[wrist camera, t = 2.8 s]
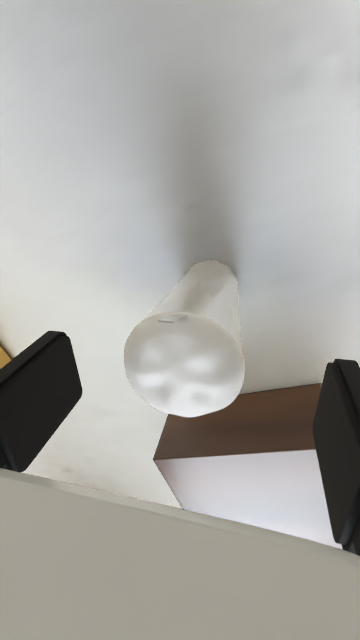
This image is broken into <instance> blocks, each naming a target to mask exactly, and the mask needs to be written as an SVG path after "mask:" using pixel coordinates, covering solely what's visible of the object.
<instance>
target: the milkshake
mask: <svg viewBox="0 0 360 640" xmlns="http://www.w3.org/2000/svg"><path fill="white" fill-rule="evenodd" d="M124 361H125V370H126V374H127V377H128V380H129V382H130V384H131V386H132V387H133V389H134V390H135V392H136V393H137V394H138V395H139V396H140V397H141V398H142V399H143V400H144V401H146V402H147V403H148V404H150V405H151V406H153V407H154V408H155V409H157V410H159V411H161V412H163V413H167V414H173V415H178V416H182V417H197V416H201V415H205V414H208V413H211V412H215V411H218V410H221V409H223V408H225V407H227V406H228V405H230V404H231V403H232V402H233V401H234V400H235V399H236V397H237V396H238V394H239V393H240V390H241V388H242V385H243V381H244V375H245V363H244V357H243V347H242V338H241V329H240V318H239V298H238V280H237V279H236V277H235V275H234V274H233V272H232V271H231V269H230V268H229V266H228V265H225V264H222V263H220V262H217V261H215V260H212V259H211V260H207V261H203V262H199V263H195V264H194V265H193V266H192V267H191V269H190V270H189V271H188V272H187V273H186V274H185V276H184V277H183V278H182V279H181V280H180V282H179V283H178V284H177V285H176V286H175V287H174V289H173V290H172V291H171V292H170V293H169V294H168V295H167V296H166V297H165V298H164V299H163V300H162V301H161V302H160V303H159V304H158V305H157V306H156V307H155V308H154V309H153V310H152V311H151V312H150V313H149V314H148V315H147V316H146V317H145V318H144V319H143V320H142V321H141V322H140V323H139V324H138V325H137V326H136V327H135V329H134V330H133V331H132V332H131V334H130V336H129V337H128V339H127V342H126V344H125V350H124Z"/></svg>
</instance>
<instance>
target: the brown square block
mask: <svg viewBox="0 0 360 640" xmlns="http://www.w3.org/2000/svg"><path fill="white" fill-rule="evenodd" d="M320 391H321V385H320V384H314V385H307V386H299V387H292V388H285V389H278V390H271V391H264V392H257V393H250V394H243V395H238V396H237V397H236V399H235V400H234V401H233V402H232V403H231V404H230V405H228V406H227V407H225V408H223V409H221V410H218V411H215V412H211V413H208V414H205V415H201V416H197V417H182V416H178V415H173V414H168V417H167V420H166V423H165V426H164V428H163V431H162V434H161V437H160V440H159V443H158V446H157V449H156V452H155V455H154V458H153V460H154V462H155V464H156V465H157V467H158V469H159V470H160V472H161V474H162V475H163V477H164V479H165V480H166V482H167V483H168V485H169V487H170V488H171V490H172V492H173V493H174V495H175V497H176V498H177V500H178V501H179V503H180V505H181V506H182V508H183V509H184V510H189V511H193V512H197V513H202V514H206V515H210V516H215V517H219V518H223V519H227V520H232V521H236V522H240V523H245V524H249V525H253V526H257V527H261V528H265V529H269V530H273V531H277V532H281V533H285V534H289V535H293V536H297V537H301V538H305V539H309V540H312V541H315V542H319V543H322V544H325V545H329V546H332V547H335V548H339V549H342V545H341V544H338V543H336V542H335V541H334V538H333V534H332V529H331V524H330V519H329V513H328V508H327V503H326V498H325V493H324V488H323V483H322V478H321V473H320V468H319V463H318V458H317V453H316V447H315V442H314V437H313V421H314V416H315V412H316V408H317V404H318V400H319V396H320ZM342 550H343V549H342Z"/></svg>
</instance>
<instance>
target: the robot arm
mask: <svg viewBox="0 0 360 640" xmlns="http://www.w3.org/2000/svg"><path fill="white" fill-rule="evenodd" d="M81 396H82V386H81V382H80V378H79V374H78V370H77V366H76V362H75V357H74V353H73V349H72V345H71V341H70V338H69V337H68V336H67V335H66V334H65V333H64V332H58V331H48V332H46V333H45V334H44V335H43V336H41V337H40V338H39V339H38V340H36V341H35V342H34V343H33V344H31V345H30V346H29V347H27V348H26V349H25V350H24V351H22V352H21V353H20V354H19V355H17V356H16V357H15V358H14V359H12V360H11V361H10V362H9V363H7V364H6V365H5V366H4V367H2V368H1V369H0V640H360V367H359V365H358V363H357V362H356V361H354V360H344V359H335V360H334V362H333V363H328V364H327V367H326V371H325V375H324V379H323V383H322V387H321V391H320V396H319V400H318V404H317V408H316V412H315V416H314V421H313V437H314V442H315V447H316V453H317V458H318V463H319V468H320V473H321V478H322V483H323V488H324V493H325V498H326V503H327V508H328V513H329V519H330V524H331V529H332V534H333V538H334V541H335V542H336V543H338V544H341V545H342V549H343V550H342V549H339V548H335V547H332V546H329V545H325V544H322V543H319V542H315V541H312V540H309V539H305V538H301V537H297V536H293V535H289V534H285V533H281V532H277V531H273V530H269V529H265V528H261V527H257V526H253V525H249V524H245V523H240V522H236V521H232V520H227V519H223V518H219V517H215V516H210V515H206V514H202V513H197V512H193V511H189V510H184V509H180V508H176V507H171V506H167V505H163V504H158V503H154V502H150V501H145V500H141V499H136V498H132V497H128V496H123V495H119V494H114V493H110V492H105V491H101V490H97V489H92V488H88V487H83V486H79V485H74V484H70V483H65V482H61V481H56V480H52V479H47V478H43V477H38V476H34V475H29V474H24V473H21V472H23V471H25V470H26V469H27V468H28V466H29V465H30V464H31V462H32V461H33V460H34V458H35V457H36V456H37V455H38V453H39V452H40V451H41V449H42V448H43V447H44V445H45V444H46V443H47V441H48V440H49V439H50V437H51V436H52V435H53V434H54V432H55V431H56V430H57V428H58V427H59V426H60V424H61V423H62V422H63V420H64V419H65V418H66V417H67V415H68V414H69V413H70V411H71V410H72V409H73V407H74V406H75V405H76V403H77V402H78V401H79V399H80V398H81Z"/></svg>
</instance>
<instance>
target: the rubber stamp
mask: <svg viewBox="0 0 360 640" xmlns="http://www.w3.org/2000/svg"><path fill="white" fill-rule="evenodd" d="M10 361H11V358H10V357H9V356H8V355H7V353H6V352H5V351H4V349H3V348H2V347H1V346H0V369H1V368H2V367H4V366H5V365H6V364H7V363H9V362H10Z"/></svg>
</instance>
